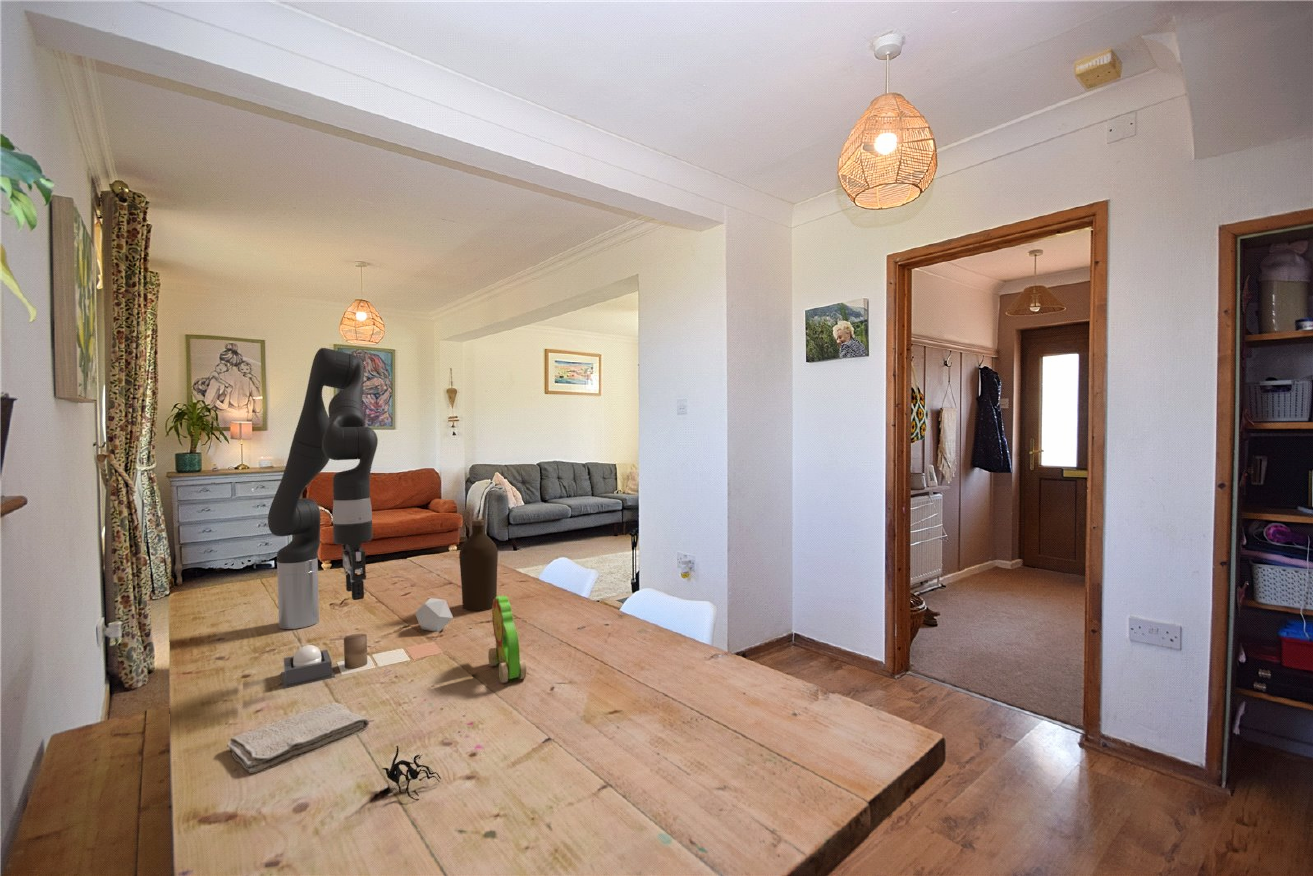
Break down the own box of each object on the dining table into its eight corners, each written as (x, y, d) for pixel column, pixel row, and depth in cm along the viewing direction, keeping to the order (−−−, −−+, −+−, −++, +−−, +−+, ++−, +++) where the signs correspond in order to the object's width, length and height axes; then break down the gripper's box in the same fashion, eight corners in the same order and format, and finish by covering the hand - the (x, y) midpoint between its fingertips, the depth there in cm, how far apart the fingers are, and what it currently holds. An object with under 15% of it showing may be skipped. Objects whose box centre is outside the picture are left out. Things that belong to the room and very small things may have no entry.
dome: (292, 671, 124) (292, 645, 124) (320, 665, 127) (319, 639, 127) (294, 679, 120) (293, 652, 120) (322, 673, 123) (322, 646, 123)
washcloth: (223, 754, 96) (222, 735, 96) (338, 711, 110) (338, 695, 110) (250, 781, 89) (249, 760, 89) (370, 731, 103) (370, 713, 103)
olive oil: (490, 612, 166) (488, 523, 166) (454, 612, 167) (452, 523, 167) (504, 601, 177) (502, 517, 176) (469, 600, 178) (467, 517, 177)
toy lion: (528, 681, 121) (527, 606, 121) (501, 687, 118) (499, 611, 118) (509, 655, 135) (508, 588, 135) (485, 659, 133) (483, 591, 132)
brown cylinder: (343, 663, 129) (342, 636, 129) (365, 659, 132) (364, 632, 131) (346, 670, 125) (345, 642, 125) (368, 665, 128) (368, 637, 128)
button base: (281, 677, 125) (280, 658, 125) (330, 666, 130) (329, 648, 130) (283, 692, 117) (282, 672, 117) (335, 680, 122) (334, 661, 122)
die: (459, 630, 154) (451, 595, 159) (446, 623, 147) (438, 587, 151) (429, 643, 153) (422, 608, 158) (414, 637, 146) (407, 600, 150)
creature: (445, 776, 90) (392, 768, 89) (452, 742, 90) (399, 734, 89) (430, 809, 83) (373, 801, 82) (438, 772, 83) (380, 763, 82)
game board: (332, 665, 130) (332, 661, 130) (436, 643, 143) (436, 640, 143) (338, 681, 122) (338, 677, 122) (447, 656, 135) (447, 652, 135)
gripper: (377, 521, 124) (379, 599, 125) (366, 514, 136) (368, 585, 136) (337, 525, 120) (339, 606, 120) (329, 517, 132) (331, 590, 132)
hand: (354, 594), depth 128 cm, fingers open, 8 cm apart
